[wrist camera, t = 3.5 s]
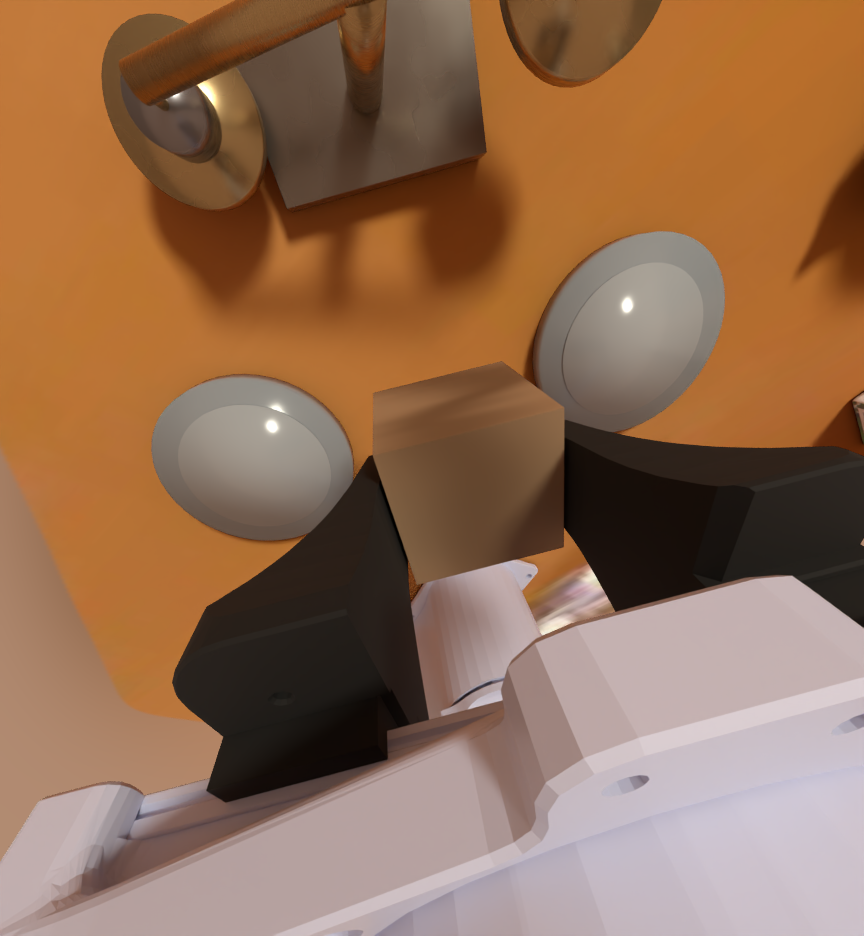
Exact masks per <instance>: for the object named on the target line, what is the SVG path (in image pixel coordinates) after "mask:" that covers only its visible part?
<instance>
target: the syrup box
mask: <svg viewBox="0 0 864 936" xmlns="http://www.w3.org/2000/svg"><path fill="white" fill-rule="evenodd" d="M852 402H853V406H854V410H855V413H856V417H857V421H858V425H859V428H860V432H861V436H862V440H863V444H864V393H862V394H861V395H859V396H858V397H856V398H855V399H854V400H853V401H852Z"/></svg>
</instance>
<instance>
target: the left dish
mask: <svg viewBox="0 0 864 936" xmlns="http://www.w3.org/2000/svg"><path fill="white" fill-rule="evenodd" d="M152 457H153V463H154V466H155V469H156V473H157V475H158V477H159V479H160V481H161V483H162V484H163V486H164V487H165V489H166V491H167V492H168V493H169V495H170V496H171V497H172V498H173V499H174V500H175V502H176V503H177V504H179V505H180V506H181V507H182V508H183V509H184V510H185V511H186V512H188V513H189V514H190V515H192V516H193V517H194V518H196V519H198V520H199V521H201V522H202V523H204V524H206V525H208V526H210V527H212V528H214V529H216V530H219V531H221V532H224V533H227V534H230V535H234V536H237V537H242V538H247V539H254V540H283V539H289V538H295V537H298V536H302V535H305V534H307V533H310V532H311V531H312V530H313V529H314V528H315V527H316V526H317V525H318V524H319V523H320V522H321V521H322V520H323V519H324V518H325V517H326V516H327V514H328V513H329V512H330V511H331V510H332V509H333V508H334V506H335V505H336V504H337V502H338V501H339V500H340V498H341V497H342V496H343V494H344V493H345V492H346V491H347V489H348V488H349V486H350V485H351V483H352V481H353V472H354V458H353V451H352V447H351V444H350V441H349V438H348V436H347V434H346V432H345V430H344V428H343V427H342V425H341V424H340V422H339V421H338V419H337V418H336V417H335V416H334V414H333V413H332V412H331V411H330V410H329V409H328V408H327V407H326V406H325V405H324V404H323V403H321V402H320V401H319V400H317V399H316V398H315V397H314V396H312V395H311V394H309V393H307V392H306V391H304V390H302V389H301V388H298V387H296V386H294V385H292V384H290V383H287V382H284V381H281V380H278V379H275V378H271V377H266V376H261V375H251V374H233V375H226V376H220V377H216V378H213V379H209V380H206V381H204V382H202V383H200V384H198V385H196V386H194V387H192V388H191V389H189V390H188V391H186V392H185V393H183V394H182V395H181V396H179V397H178V398H176V399H175V400H174V401H173V402H172V403H171V404H170V405H169V406H168V407H167V408H166V409H165V410H164V412H163V413H162V414H161V416H160V417H159V419H158V421H157V424H156V426H155V428H154V432H153V437H152Z"/></svg>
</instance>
